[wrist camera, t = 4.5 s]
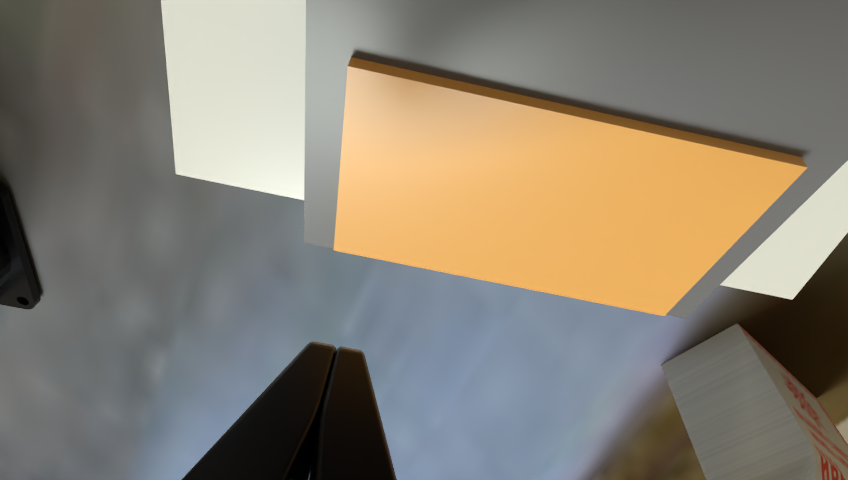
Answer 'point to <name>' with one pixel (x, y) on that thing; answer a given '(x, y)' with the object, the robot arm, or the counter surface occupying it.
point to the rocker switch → (571, 137)
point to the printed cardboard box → (752, 414)
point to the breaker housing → (285, 126)
